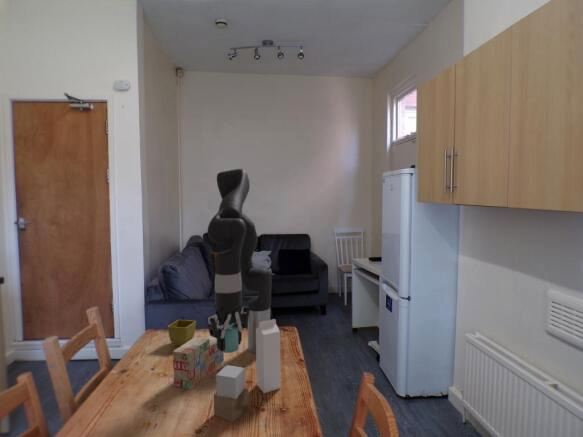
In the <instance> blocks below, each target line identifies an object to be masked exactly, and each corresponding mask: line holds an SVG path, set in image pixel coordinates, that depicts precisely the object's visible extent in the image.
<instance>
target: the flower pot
mask: <svg viewBox="0 0 583 437" xmlns="http://www.w3.org/2000/svg"><path fill="white" fill-rule="evenodd" d="M196 325H197V321H196V320H191V319H189V320H188V319H177V320H175V321H174V322H173V323H172V322H171V323H170V324H169V325H168V326H167V332H168V337H169V340H170V342H171V344H172V345H173V346H176V347H177V346H178V347H181V346H182V345H184V344H185V343H187V342H188V341H190V340H191V339H193V338H194V336H195V333H196Z"/></svg>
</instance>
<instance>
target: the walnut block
mask: <svg viewBox="0 0 583 437" xmlns="http://www.w3.org/2000/svg"><path fill="white" fill-rule="evenodd" d="M249 398H250V397H249V389H248V388H245V389H244V390H243V391H242V392H241V394H240V395H239V396H238V397H237V398H236V399H233V398H227V397H222V396H217V391H216V392H215V393H214V394H213V415H215V416H217V417H220V418H221V419H224V420H226V421H228V422H231V423H232V424H233V423H234V422H235V421H237V419H239V418H241V416H243V415H244V414H246V412H248V411H249V410H250V408H249V407H250V406H249V404H250V403H249Z"/></svg>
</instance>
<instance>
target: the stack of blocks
mask: <svg viewBox="0 0 583 437" xmlns="http://www.w3.org/2000/svg"><path fill="white" fill-rule="evenodd" d="M224 355H225V354H224V352H222V351H220V350H219V349H218V348H217V338H215V337H212V336H210V335H208V336H207V337H204V338H203V337H196V336H195V337H194V336H193V338H192V339H191V340H190V341H188V342H187V343H185V344H184V345H182V346H178V347H177V348H176V349H174V350H173V352H172V357H173V358H172V359H173V360H172V363H173V365H172V366H173V367H172V368H173V387H175V388H180V389H186V390H191V389H192V388H194V387H195V386H196V385H197V384H199V383H200V382H201V381H202V380H203V379H205V378H206V377H207V375H209V374H210V373H211V372H212V371H213V370H215V369H216V368H217V367H218V366H220V365H221V364H222V363H223V362H224V359H225V358H224Z"/></svg>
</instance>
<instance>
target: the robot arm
mask: <svg viewBox="0 0 583 437" xmlns="http://www.w3.org/2000/svg"><path fill="white" fill-rule="evenodd" d="M216 184H217V189H218V192H219V194H220V197H221V202H220V204H219V208H218V212H216V214H215V215H214V216H213V217H212V219H211V220H210V221H209V224H208V226H207V237H208V238H209V241H211V242H212V243H214V244H233V246H232V247H231V248H230V249H228V250H223V251H219V252H218V253H216V254H215V257H214V258H215V260H214V263H215V265H214V266H215V267H214V268H215V270H214V271H215V275H214V276H215V277H214V304H215V308H216V309H215V313H214V314H213V315H211V316H209V315H208V316H207V317H206V318H205V319H206V320H205V321H206V324H207V327H208V328H207V329H208V332H209V336H212V337H215V338H217V348H218V349H219V350H220V351H224V350H225V338H224V335H225V331H226V330H227V328H228V325H233V326H237V327H238V346H239V345H241V342H242V339H243V338H242V331H243V329H246V328H247V346H248V347H247V350H248V352H249V353H252V354H255V355H256V329H257V328H258V327H259V323H260V322H263V321H268V320H271V302H272V301H271V300H272V283H273V281H272V274H271V272H270V269H269V270H268V269H265V268H264V269H263V268H255V267H254V266H253V260H252V258H253V254H254V253H255V250H256V248H257V246H258V241H259V240H258V239H259V238H258V234H257V229H256V225H255V223H254V222H253V220H252V219H251V218H250V217H249V216H248V215H247V214H245V213H244V212H243V205H244V203H245V201H246V199H247V197H248V194H249V192H250V185H251V184H250V178H249V175H248V172H247V171H246V169H244V168H243V169H242V168H237V169H229V170H225V171H224V170H223V171H220V172H219V173H217V174H216ZM242 287H244V289H245V290H246V291H250V292H257V293H258V296H257V297H255V298H251V299H249V300H248V302H247V306H245V305H242V304H243V292H242Z"/></svg>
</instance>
